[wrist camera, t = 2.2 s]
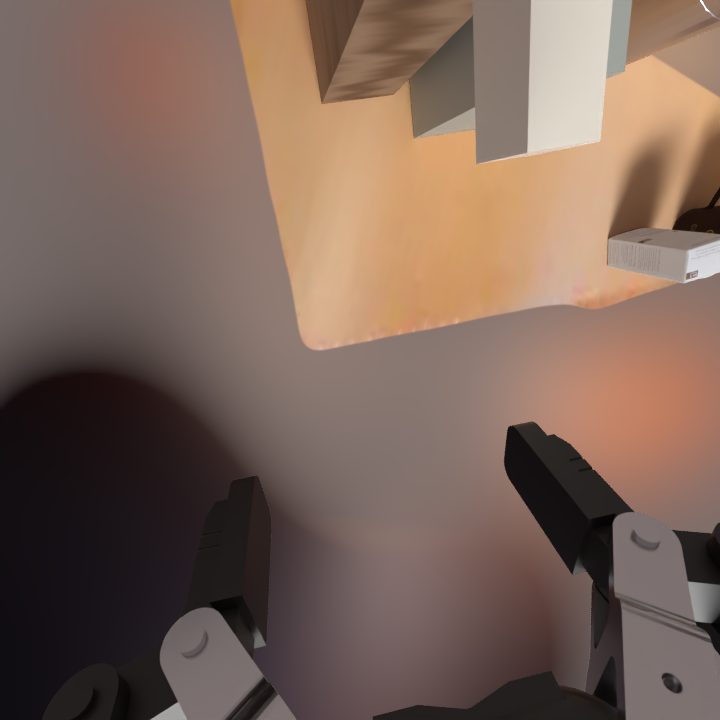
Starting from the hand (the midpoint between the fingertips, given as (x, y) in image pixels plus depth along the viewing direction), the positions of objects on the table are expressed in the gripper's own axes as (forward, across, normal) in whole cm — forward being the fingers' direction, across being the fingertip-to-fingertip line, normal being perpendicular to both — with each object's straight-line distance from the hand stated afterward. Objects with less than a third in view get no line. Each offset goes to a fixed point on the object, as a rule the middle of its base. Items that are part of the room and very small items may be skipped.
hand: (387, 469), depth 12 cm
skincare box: (+40, -43, +9) cm, 60 cm away
